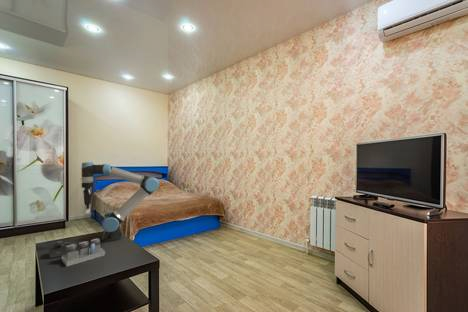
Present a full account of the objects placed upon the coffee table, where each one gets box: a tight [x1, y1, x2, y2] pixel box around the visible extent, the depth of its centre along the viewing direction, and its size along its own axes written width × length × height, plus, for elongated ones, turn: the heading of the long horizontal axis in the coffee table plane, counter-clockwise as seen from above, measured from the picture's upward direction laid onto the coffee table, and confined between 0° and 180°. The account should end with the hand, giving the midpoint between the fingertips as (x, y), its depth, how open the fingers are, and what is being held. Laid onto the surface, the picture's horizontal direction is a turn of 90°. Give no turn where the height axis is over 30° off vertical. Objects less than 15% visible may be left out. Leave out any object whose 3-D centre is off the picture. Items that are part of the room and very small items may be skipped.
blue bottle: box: [89, 243, 95, 254], centre depth 151 cm, size 2×2×6 cm
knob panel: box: [61, 243, 106, 267], centre depth 152 cm, size 22×14×7 cm, turn 138°
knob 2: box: [90, 237, 101, 245], centre depth 157 cm, size 6×6×7 cm
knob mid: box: [78, 240, 90, 249], centre depth 152 cm, size 6×6×7 cm
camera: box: [48, 240, 73, 259], centre depth 156 cm, size 13×10×10 cm
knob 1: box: [66, 243, 78, 252], centre depth 147 cm, size 6×6×7 cm
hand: (87, 212), depth 170 cm, fingers closed
